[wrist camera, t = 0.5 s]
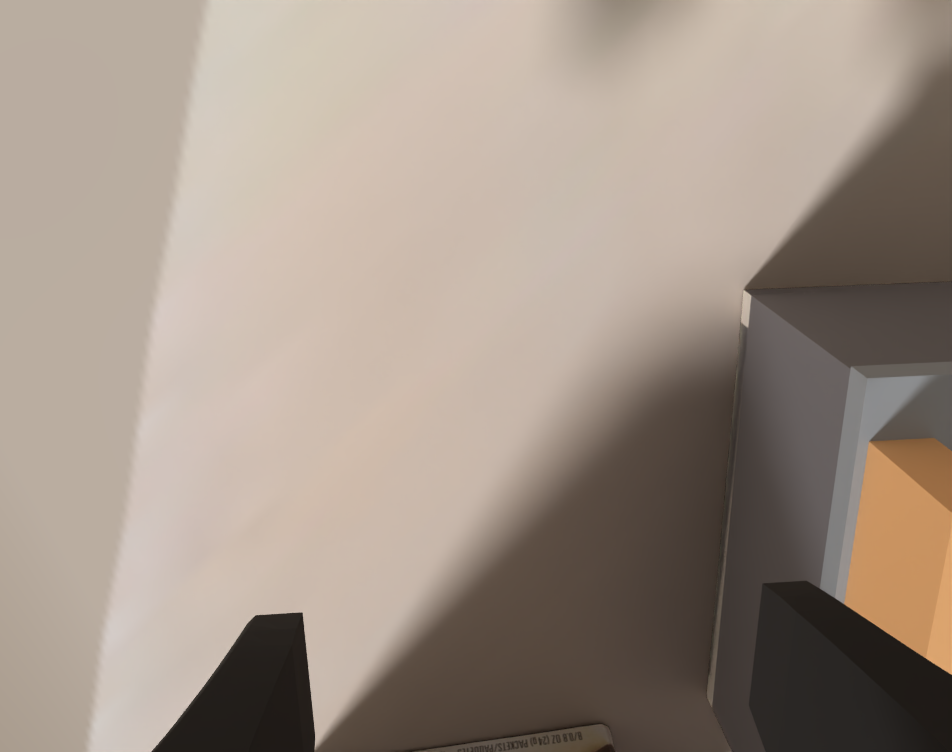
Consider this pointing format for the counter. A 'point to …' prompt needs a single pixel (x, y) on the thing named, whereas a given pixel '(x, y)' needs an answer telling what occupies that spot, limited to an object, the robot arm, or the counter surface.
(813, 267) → the counter surface
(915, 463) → the box lid
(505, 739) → the coffee box
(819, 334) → the grey box
